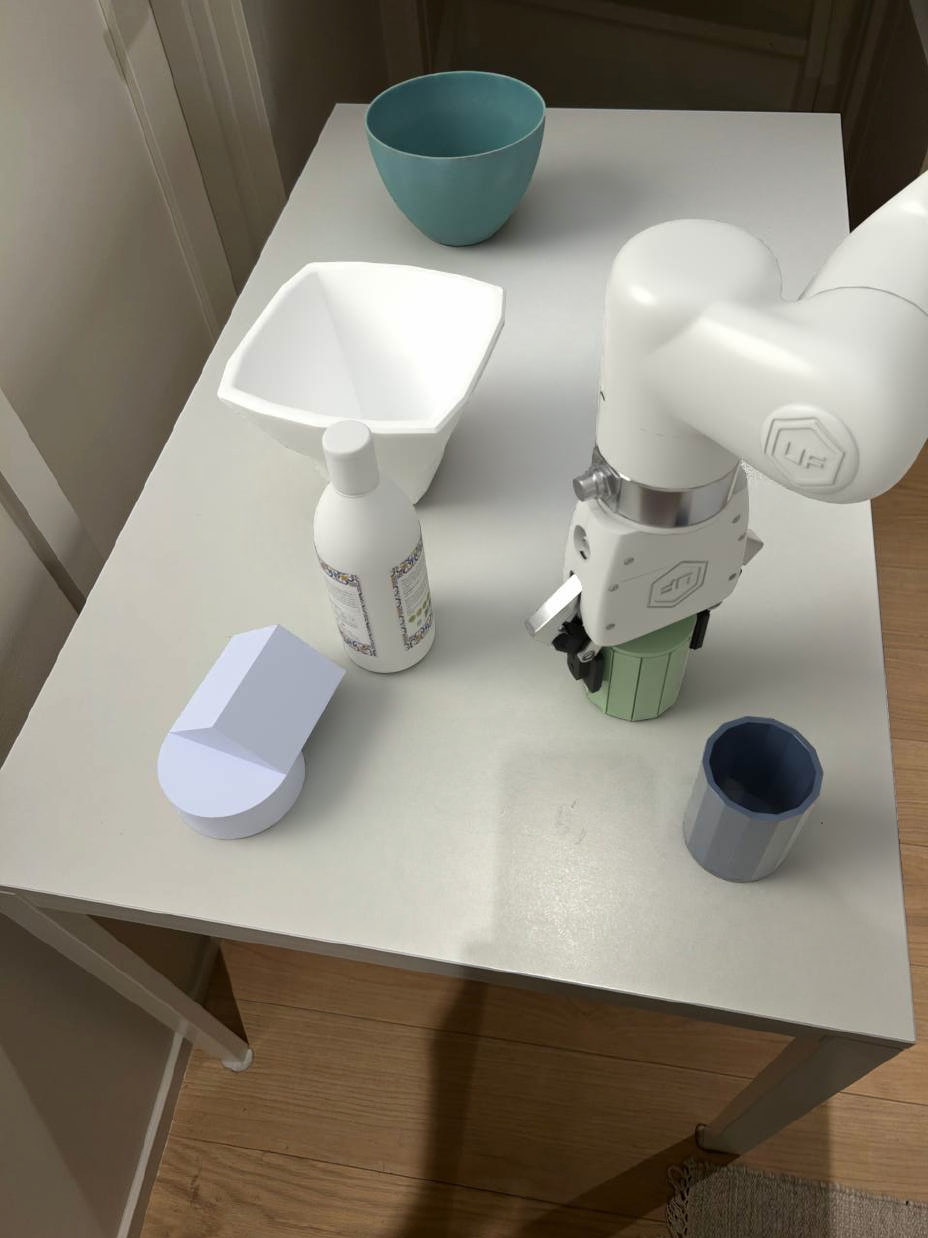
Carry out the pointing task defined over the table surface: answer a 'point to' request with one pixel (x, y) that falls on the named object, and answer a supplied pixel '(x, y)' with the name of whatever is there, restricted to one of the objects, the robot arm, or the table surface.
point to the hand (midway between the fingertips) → (635, 653)
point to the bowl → (367, 361)
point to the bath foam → (372, 556)
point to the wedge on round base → (247, 734)
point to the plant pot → (457, 150)
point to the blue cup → (750, 798)
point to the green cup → (645, 672)
